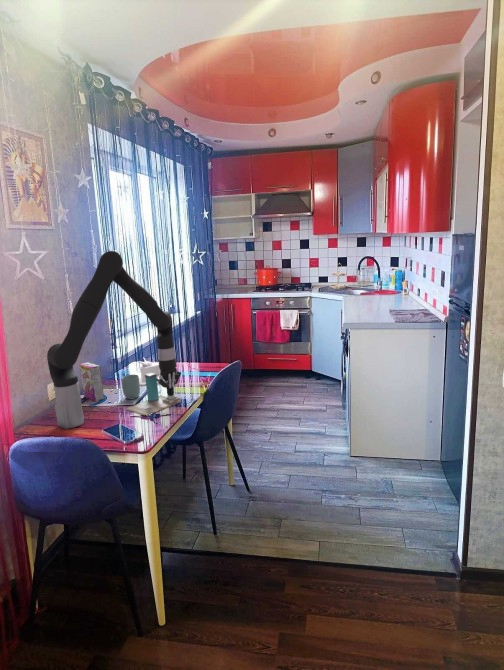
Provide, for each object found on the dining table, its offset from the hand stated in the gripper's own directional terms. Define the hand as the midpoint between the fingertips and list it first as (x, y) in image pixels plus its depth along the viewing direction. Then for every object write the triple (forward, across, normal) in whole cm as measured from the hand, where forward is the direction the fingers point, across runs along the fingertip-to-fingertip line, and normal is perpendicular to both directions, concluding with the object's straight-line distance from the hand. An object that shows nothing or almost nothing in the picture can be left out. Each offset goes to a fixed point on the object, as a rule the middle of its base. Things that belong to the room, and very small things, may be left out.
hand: (171, 395), depth 207 cm
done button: (+2, 0, 0) cm, 3 cm away
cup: (+4, -5, +22) cm, 23 cm away
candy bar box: (+4, -15, +38) cm, 41 cm away
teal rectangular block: (+3, -4, +8) cm, 9 cm away
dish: (+4, +19, +38) cm, 43 cm away
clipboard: (+4, -7, +4) cm, 9 cm away
